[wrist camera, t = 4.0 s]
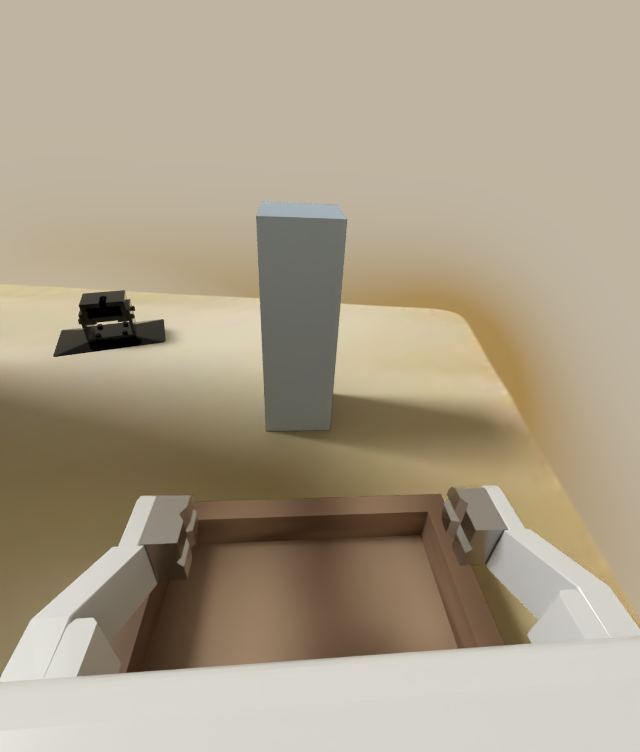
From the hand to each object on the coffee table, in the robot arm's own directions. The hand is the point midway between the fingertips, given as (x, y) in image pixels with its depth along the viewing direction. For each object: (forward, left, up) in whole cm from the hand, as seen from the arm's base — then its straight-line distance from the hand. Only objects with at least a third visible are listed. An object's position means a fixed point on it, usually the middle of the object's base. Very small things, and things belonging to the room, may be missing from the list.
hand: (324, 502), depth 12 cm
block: (0, +14, -8) cm, 16 cm away
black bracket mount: (-18, +26, -8) cm, 33 cm away
